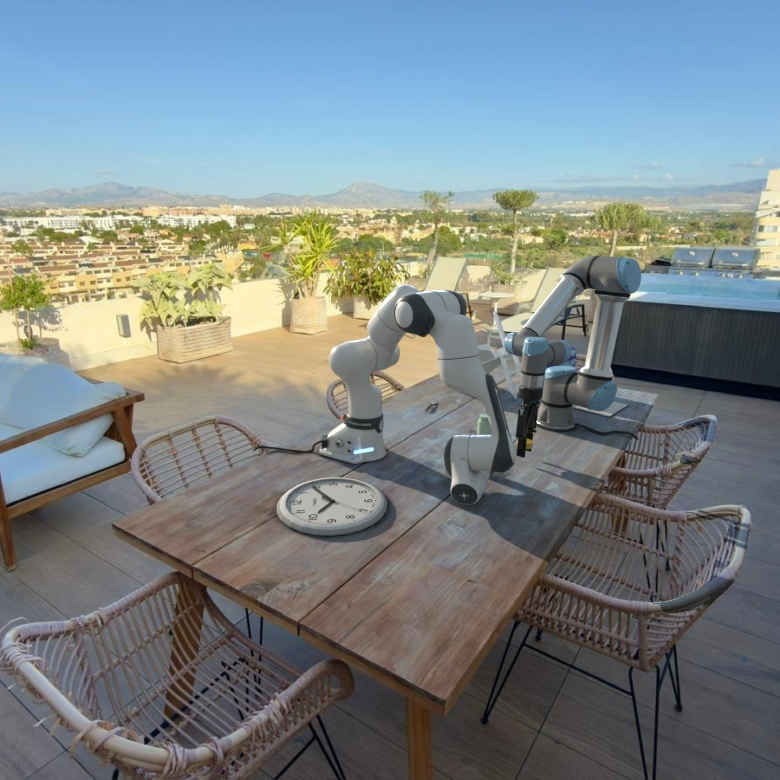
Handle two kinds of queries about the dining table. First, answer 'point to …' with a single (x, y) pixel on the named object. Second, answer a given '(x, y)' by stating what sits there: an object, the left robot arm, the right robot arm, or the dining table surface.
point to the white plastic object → (498, 357)
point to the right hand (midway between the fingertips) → (523, 453)
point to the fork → (432, 403)
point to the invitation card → (609, 411)
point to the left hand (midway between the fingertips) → (483, 451)
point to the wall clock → (331, 506)
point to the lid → (528, 444)
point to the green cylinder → (483, 425)
